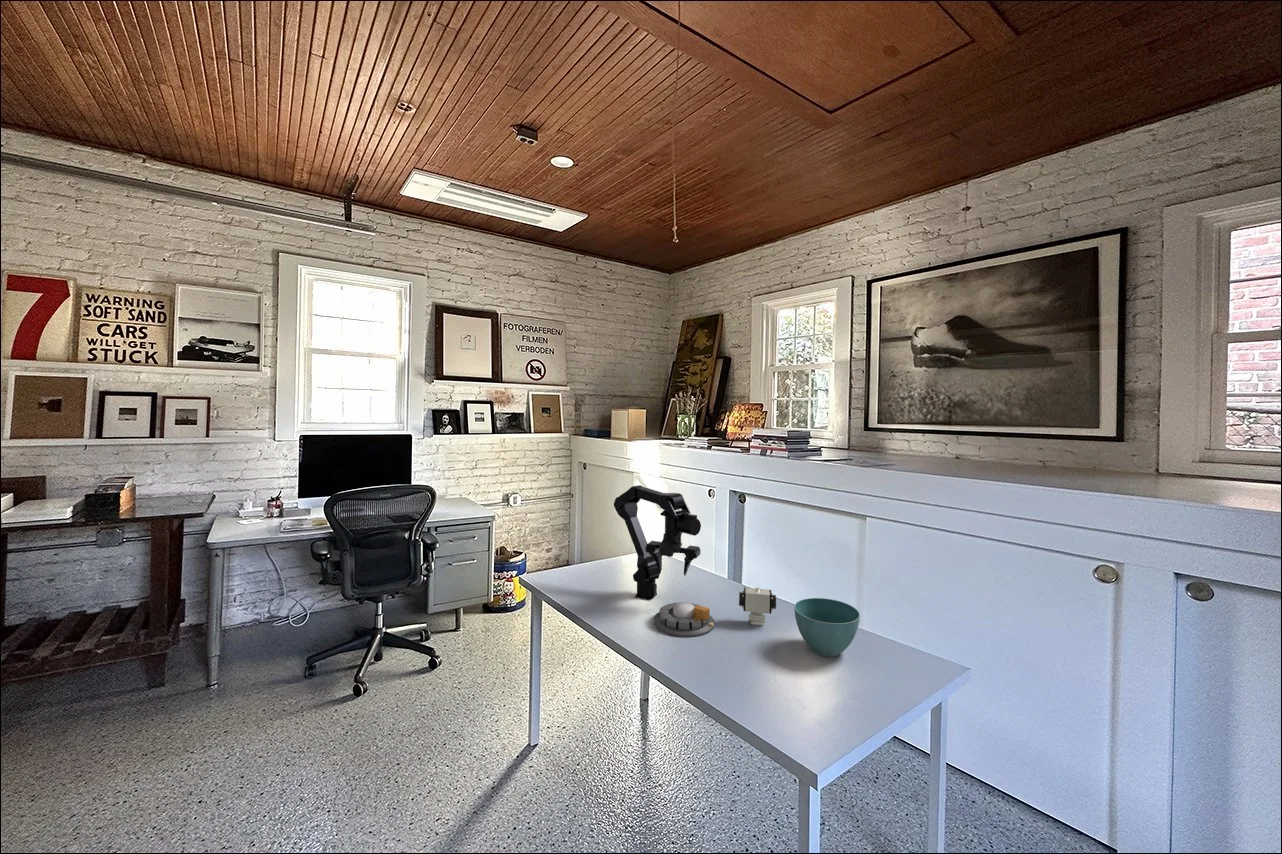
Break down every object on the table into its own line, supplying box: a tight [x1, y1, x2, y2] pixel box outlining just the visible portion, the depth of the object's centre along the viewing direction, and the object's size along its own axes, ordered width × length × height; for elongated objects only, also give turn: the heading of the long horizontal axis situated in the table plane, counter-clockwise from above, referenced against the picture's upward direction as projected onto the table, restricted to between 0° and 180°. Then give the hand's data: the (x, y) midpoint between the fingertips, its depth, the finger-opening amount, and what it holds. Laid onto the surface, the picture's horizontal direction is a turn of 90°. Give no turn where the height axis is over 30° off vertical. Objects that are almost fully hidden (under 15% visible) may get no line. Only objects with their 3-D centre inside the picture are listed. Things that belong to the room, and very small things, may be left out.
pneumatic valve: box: [738, 587, 777, 627], centre depth 174 cm, size 6×12×12 cm, turn 78°
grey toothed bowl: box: [658, 602, 711, 631], centre depth 173 cm, size 16×17×5 cm
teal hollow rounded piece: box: [793, 597, 861, 658], centre depth 156 cm, size 18×18×12 cm
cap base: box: [652, 602, 715, 638], centre depth 173 cm, size 20×20×6 cm
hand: (672, 573), depth 186 cm, fingers open, 9 cm apart
